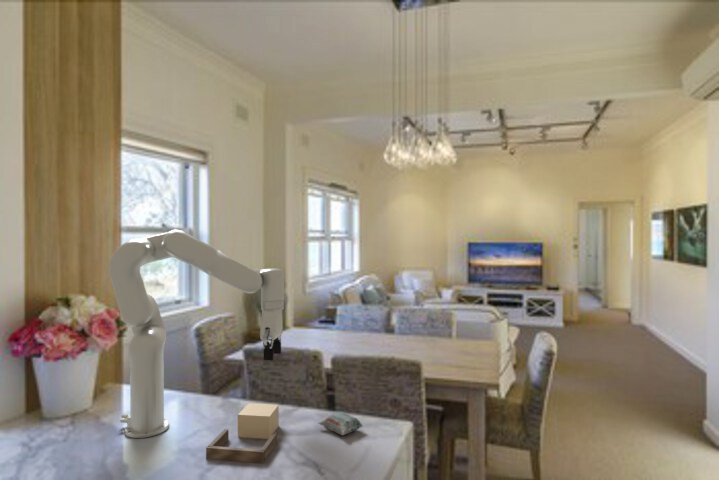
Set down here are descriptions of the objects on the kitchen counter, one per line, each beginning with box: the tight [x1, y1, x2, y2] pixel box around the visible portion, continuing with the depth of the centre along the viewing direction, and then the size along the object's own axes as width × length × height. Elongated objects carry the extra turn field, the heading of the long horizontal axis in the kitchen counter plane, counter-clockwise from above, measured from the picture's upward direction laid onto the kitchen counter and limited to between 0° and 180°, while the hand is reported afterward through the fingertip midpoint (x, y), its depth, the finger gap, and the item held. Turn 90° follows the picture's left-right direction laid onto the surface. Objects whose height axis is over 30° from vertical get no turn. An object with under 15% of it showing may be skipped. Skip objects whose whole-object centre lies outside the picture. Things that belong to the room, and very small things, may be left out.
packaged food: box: [317, 411, 364, 436], centre depth 139 cm, size 9×12×5 cm
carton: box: [237, 402, 280, 440], centre depth 138 cm, size 10×9×7 cm
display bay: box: [205, 428, 278, 464], centre depth 126 cm, size 16×12×3 cm
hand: (272, 356), depth 151 cm, fingers open, 7 cm apart
